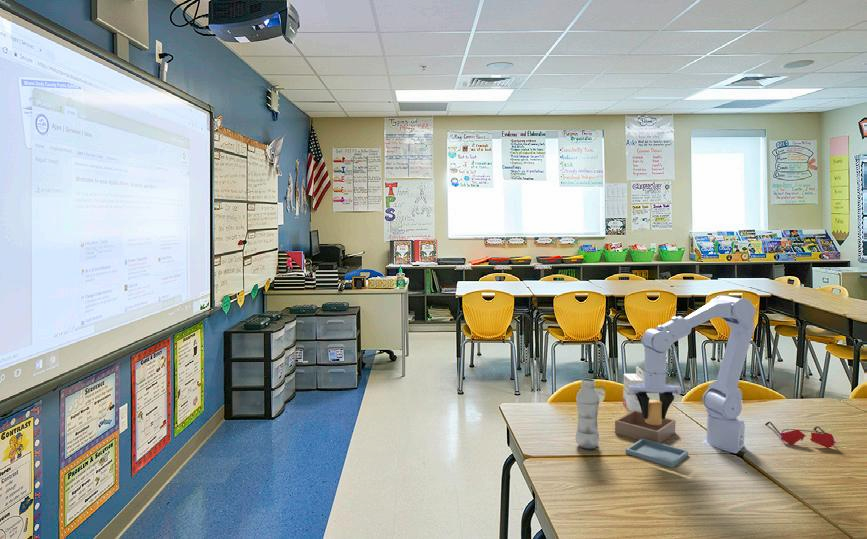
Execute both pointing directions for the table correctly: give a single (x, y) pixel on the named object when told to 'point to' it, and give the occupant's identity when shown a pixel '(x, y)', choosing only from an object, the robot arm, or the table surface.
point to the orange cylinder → (654, 412)
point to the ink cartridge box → (631, 399)
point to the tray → (657, 452)
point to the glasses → (796, 435)
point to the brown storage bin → (644, 427)
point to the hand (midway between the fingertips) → (653, 417)
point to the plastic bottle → (587, 415)
